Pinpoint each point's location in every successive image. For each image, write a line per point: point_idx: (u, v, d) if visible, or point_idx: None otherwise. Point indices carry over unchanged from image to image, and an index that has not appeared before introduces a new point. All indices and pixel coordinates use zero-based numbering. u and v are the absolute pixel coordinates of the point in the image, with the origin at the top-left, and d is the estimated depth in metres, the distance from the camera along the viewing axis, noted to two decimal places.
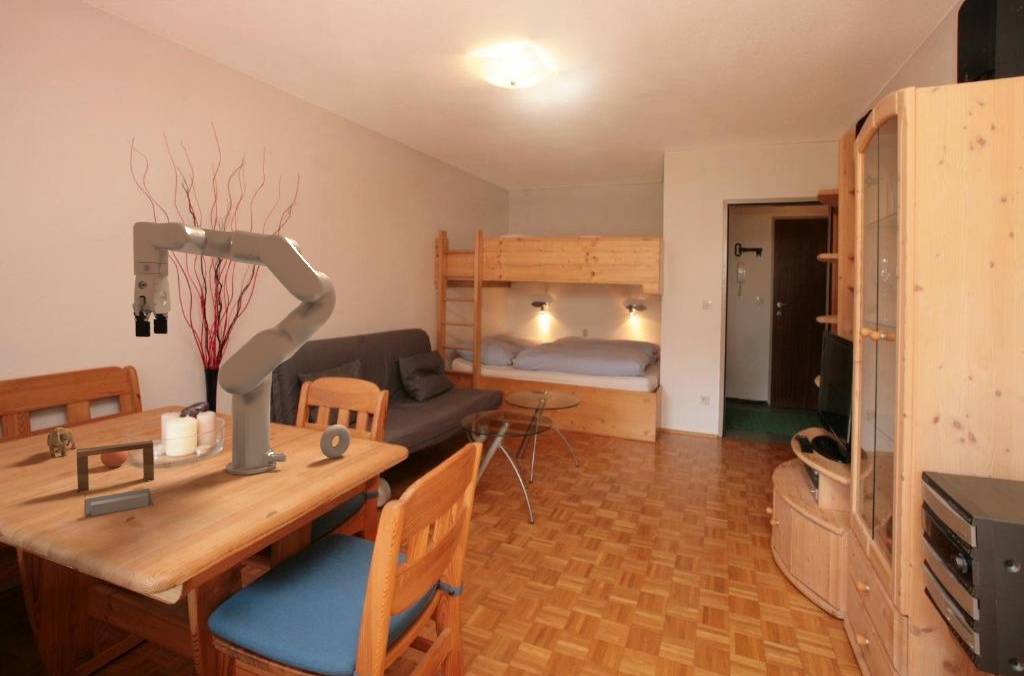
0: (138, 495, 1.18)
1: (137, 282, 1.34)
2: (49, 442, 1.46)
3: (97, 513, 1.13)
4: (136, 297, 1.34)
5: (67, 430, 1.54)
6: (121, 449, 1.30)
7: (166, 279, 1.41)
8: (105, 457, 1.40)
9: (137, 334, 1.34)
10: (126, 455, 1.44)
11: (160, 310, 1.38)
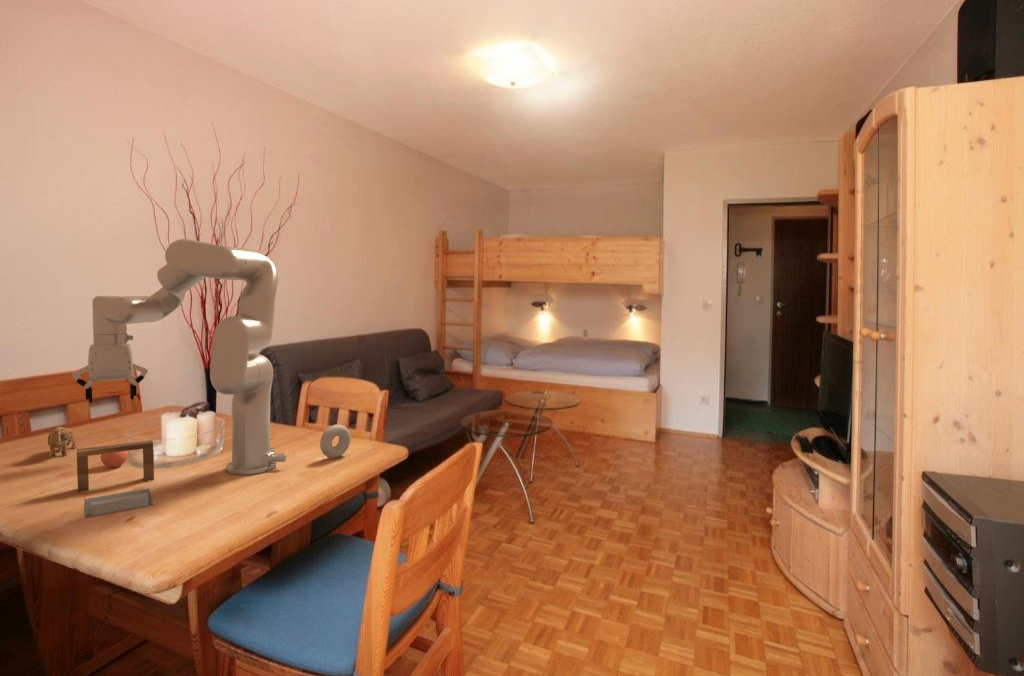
0: (138, 495, 1.18)
1: (130, 351, 1.50)
2: (50, 442, 1.47)
3: (97, 513, 1.13)
4: (132, 364, 1.51)
5: (68, 429, 1.55)
6: (121, 449, 1.30)
7: None
8: (105, 457, 1.40)
9: (133, 397, 1.52)
10: (126, 455, 1.44)
11: None
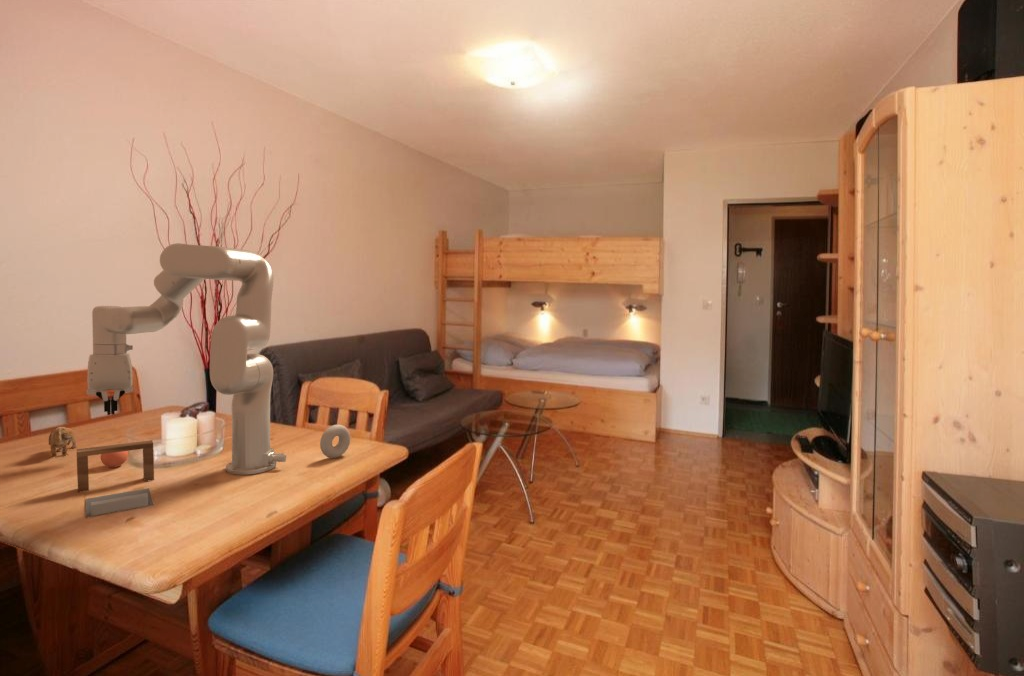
0: (138, 495, 1.18)
1: (130, 361, 1.50)
2: (51, 441, 1.47)
3: (97, 513, 1.13)
4: None
5: (68, 429, 1.55)
6: (121, 449, 1.30)
7: None
8: (105, 457, 1.40)
9: None
10: (126, 455, 1.44)
11: None
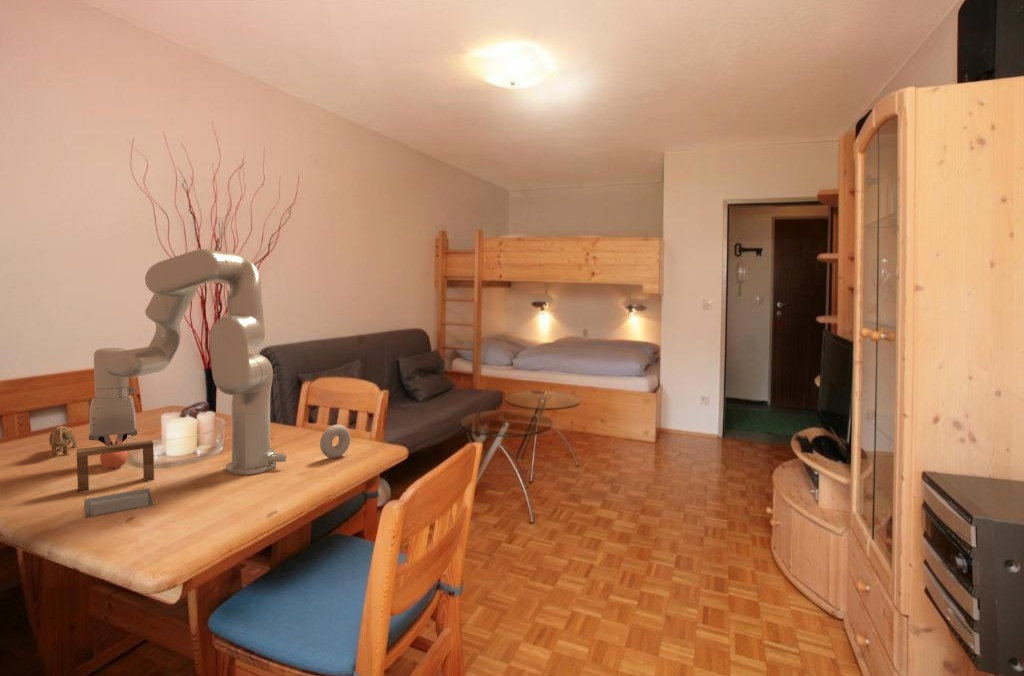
0: (138, 495, 1.18)
1: (133, 404, 1.46)
2: (51, 441, 1.48)
3: (97, 513, 1.13)
4: (135, 417, 1.47)
5: (68, 429, 1.56)
6: (121, 449, 1.30)
7: None
8: (105, 461, 1.39)
9: None
10: (126, 457, 1.43)
11: None
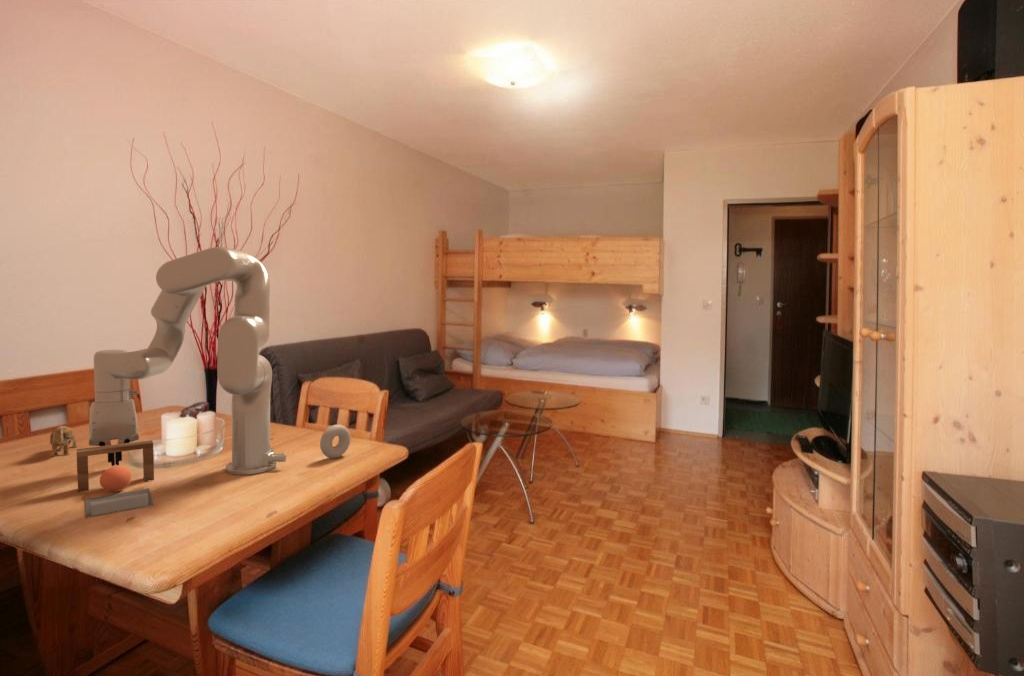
0: (138, 495, 1.18)
1: (134, 407, 1.42)
2: (52, 441, 1.48)
3: (97, 513, 1.13)
4: (136, 421, 1.42)
5: (69, 428, 1.56)
6: (121, 449, 1.30)
7: None
8: (106, 486, 1.24)
9: (118, 462, 1.41)
10: (129, 479, 1.27)
11: None
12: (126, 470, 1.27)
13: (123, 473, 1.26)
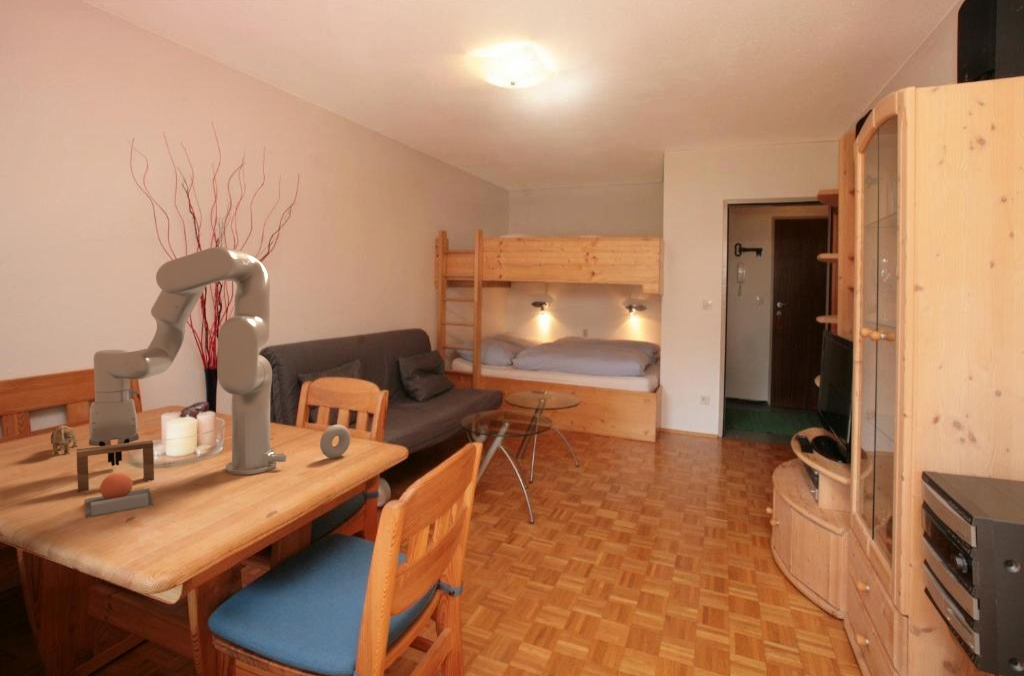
0: (138, 495, 1.18)
1: (134, 407, 1.42)
2: (53, 440, 1.48)
3: (97, 513, 1.13)
4: (136, 421, 1.42)
5: (69, 428, 1.56)
6: (121, 449, 1.30)
7: None
8: None
9: (118, 462, 1.41)
10: None
11: None
12: (128, 493, 1.22)
13: None
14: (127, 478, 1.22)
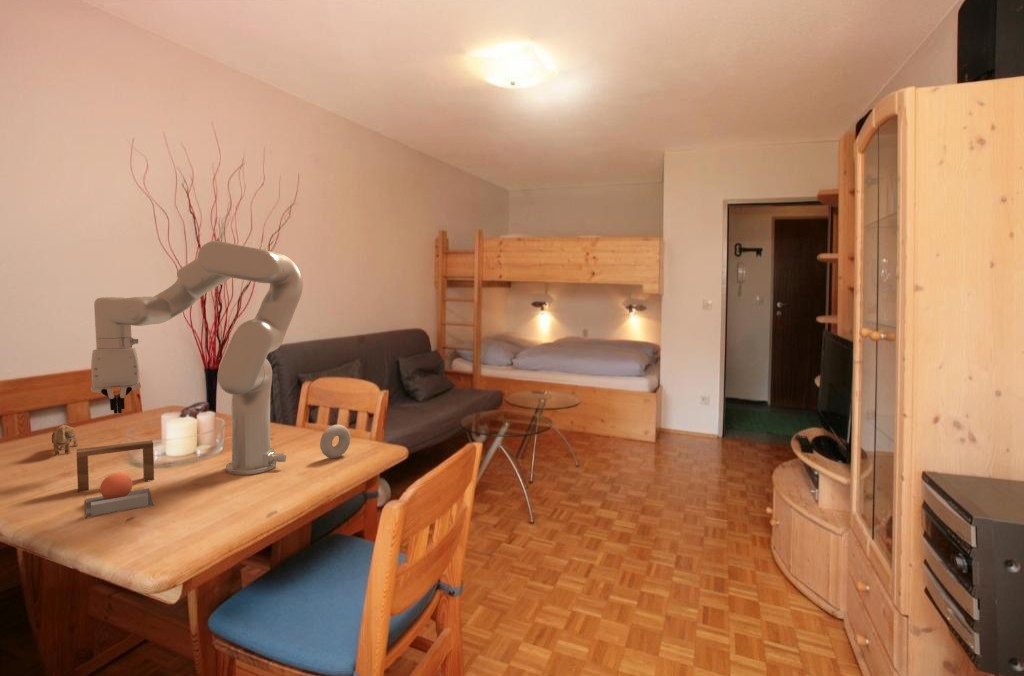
0: (138, 495, 1.18)
1: (136, 355, 1.41)
2: (54, 440, 1.49)
3: (97, 513, 1.13)
4: (138, 369, 1.42)
5: (70, 427, 1.57)
6: (121, 449, 1.30)
7: None
8: None
9: None
10: None
11: None
12: (128, 493, 1.22)
13: None
14: (127, 478, 1.22)
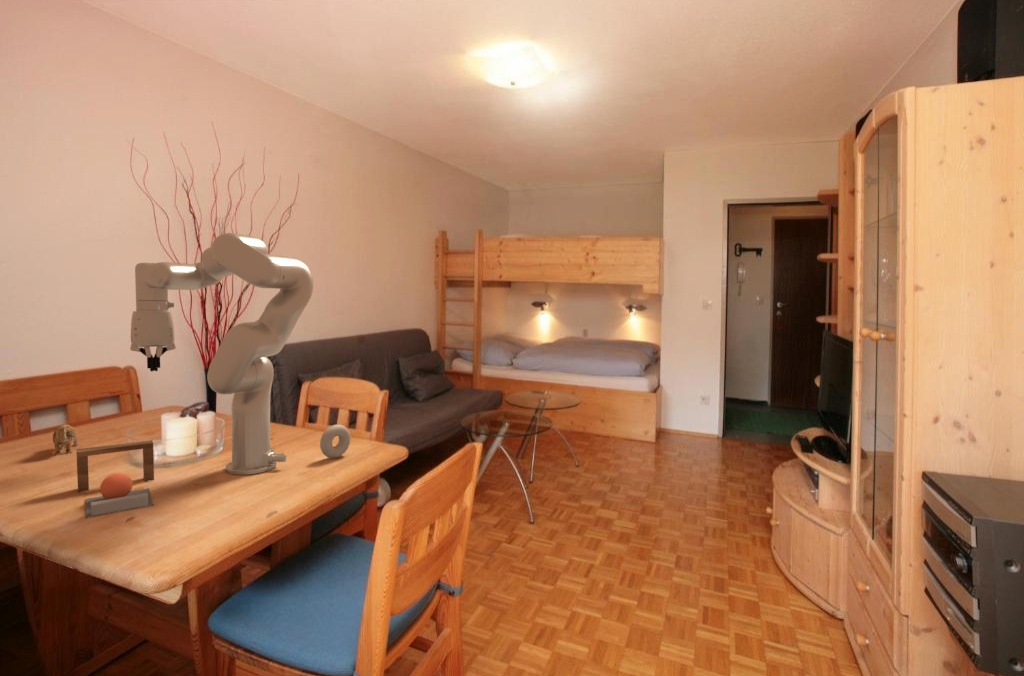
0: (138, 495, 1.18)
1: None
2: (55, 439, 1.49)
3: (97, 513, 1.13)
4: None
5: (70, 427, 1.57)
6: (121, 449, 1.30)
7: None
8: None
9: None
10: None
11: None
12: (128, 493, 1.22)
13: None
14: (127, 478, 1.22)
